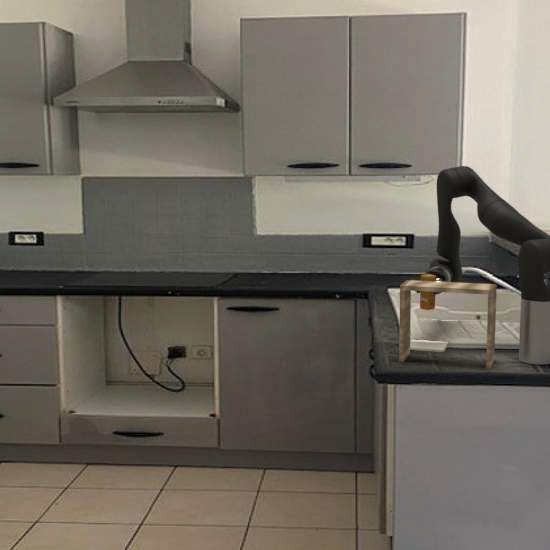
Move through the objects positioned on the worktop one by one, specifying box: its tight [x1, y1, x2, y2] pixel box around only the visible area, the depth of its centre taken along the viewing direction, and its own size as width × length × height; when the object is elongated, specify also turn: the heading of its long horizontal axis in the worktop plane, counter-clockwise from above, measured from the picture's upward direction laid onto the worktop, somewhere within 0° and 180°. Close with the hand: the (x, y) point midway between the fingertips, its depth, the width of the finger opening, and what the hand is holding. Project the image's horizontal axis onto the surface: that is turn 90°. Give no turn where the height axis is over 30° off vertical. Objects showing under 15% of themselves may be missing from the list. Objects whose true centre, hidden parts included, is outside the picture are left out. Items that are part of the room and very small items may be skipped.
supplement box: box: [419, 274, 437, 311], centre depth 241 cm, size 3×4×10 cm
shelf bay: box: [398, 279, 498, 370], centre depth 225 cm, size 24×9×21 cm, turn 70°
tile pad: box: [410, 342, 449, 353], centre depth 244 cm, size 11×11×1 cm
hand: (426, 290), depth 238 cm, fingers closed on supplement box, 4 cm apart
